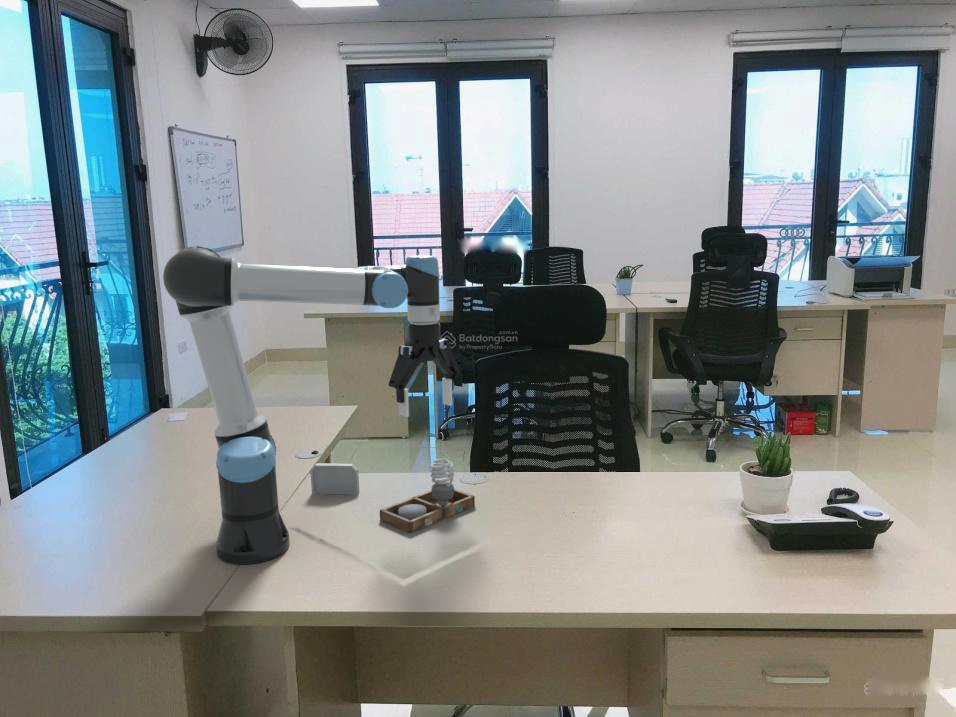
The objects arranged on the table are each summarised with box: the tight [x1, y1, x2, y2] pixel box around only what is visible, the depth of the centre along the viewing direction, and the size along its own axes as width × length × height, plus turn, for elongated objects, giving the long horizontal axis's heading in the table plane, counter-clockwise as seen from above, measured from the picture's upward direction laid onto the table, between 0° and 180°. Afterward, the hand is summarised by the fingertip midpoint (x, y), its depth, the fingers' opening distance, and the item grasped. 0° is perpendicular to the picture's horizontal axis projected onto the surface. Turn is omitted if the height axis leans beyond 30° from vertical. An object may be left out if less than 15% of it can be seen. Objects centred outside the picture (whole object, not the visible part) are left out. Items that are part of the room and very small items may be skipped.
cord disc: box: [398, 504, 426, 520], centre depth 178 cm, size 6×6×2 cm
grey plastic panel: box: [309, 462, 360, 496], centre depth 196 cm, size 2×12×8 cm, turn 84°
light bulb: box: [430, 458, 455, 507], centre depth 183 cm, size 6×6×12 cm
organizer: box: [379, 488, 476, 534], centre depth 181 cm, size 20×11×4 cm, turn 136°
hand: (426, 410), depth 185 cm, fingers open, 13 cm apart
